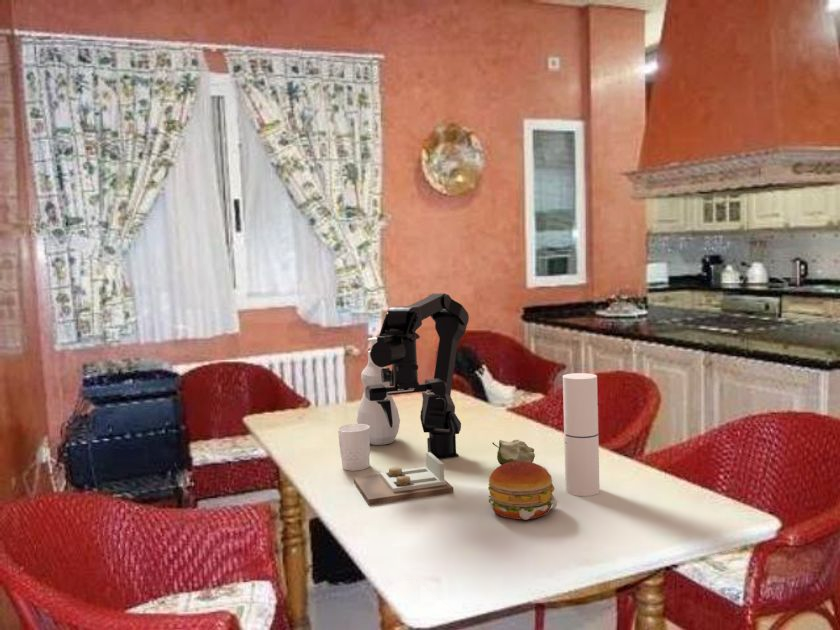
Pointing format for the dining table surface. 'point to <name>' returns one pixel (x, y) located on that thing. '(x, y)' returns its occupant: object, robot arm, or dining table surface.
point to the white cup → (354, 446)
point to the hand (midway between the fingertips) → (407, 425)
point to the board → (380, 492)
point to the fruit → (514, 452)
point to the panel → (419, 475)
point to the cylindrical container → (581, 434)
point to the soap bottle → (376, 407)
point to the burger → (521, 490)
